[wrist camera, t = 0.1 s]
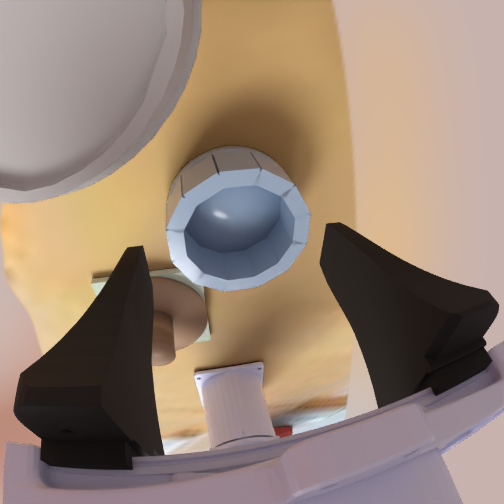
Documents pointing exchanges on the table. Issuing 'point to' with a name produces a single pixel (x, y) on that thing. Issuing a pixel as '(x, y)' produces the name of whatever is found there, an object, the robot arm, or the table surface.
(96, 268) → the table surface
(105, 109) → the disposable coffee cup
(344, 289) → the robot arm
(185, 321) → the lid
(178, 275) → the mat
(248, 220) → the bowl
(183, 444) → the table surface
